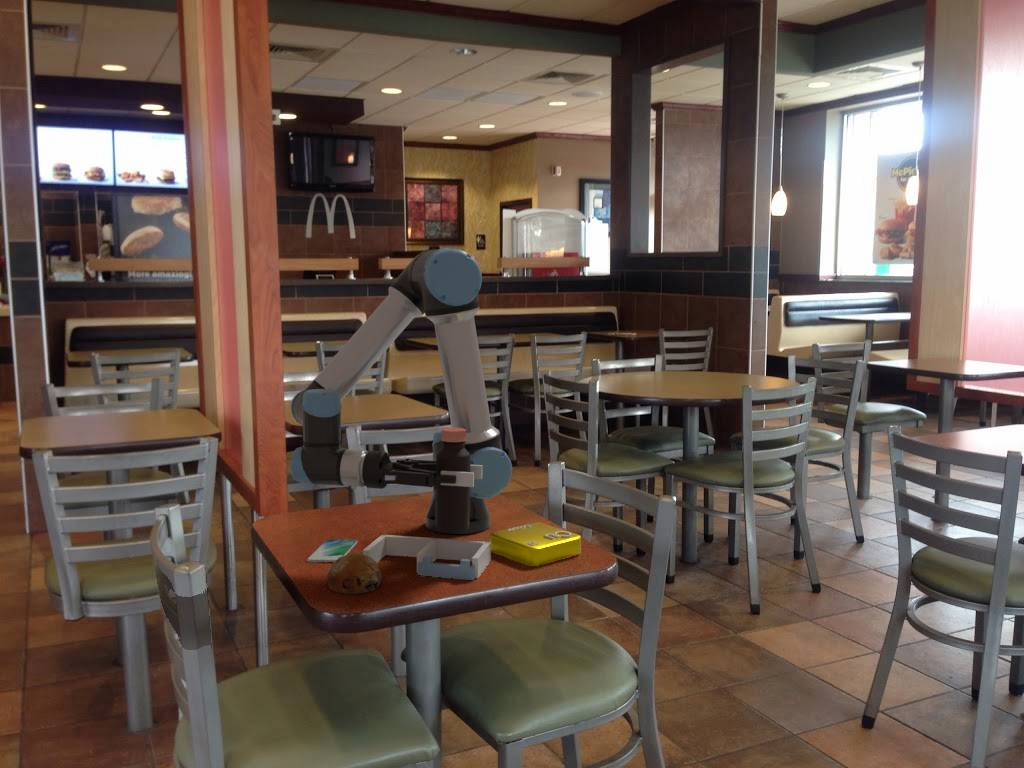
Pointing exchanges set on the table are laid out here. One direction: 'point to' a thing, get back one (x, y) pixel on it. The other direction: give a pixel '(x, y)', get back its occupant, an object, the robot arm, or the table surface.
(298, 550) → the table surface
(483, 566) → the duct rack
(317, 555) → the smartphone
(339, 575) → the bread roll
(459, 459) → the vinegar
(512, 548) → the element tile
